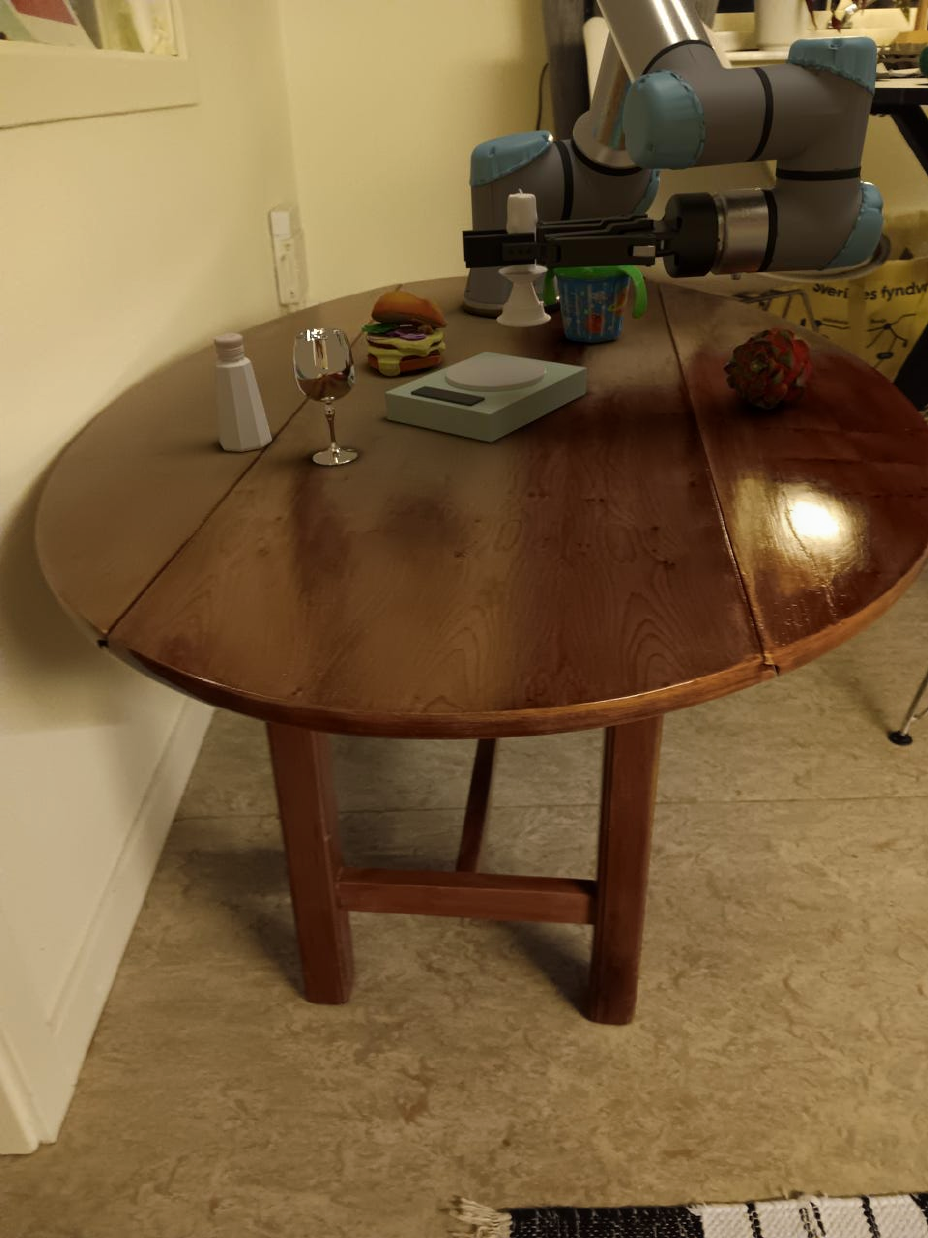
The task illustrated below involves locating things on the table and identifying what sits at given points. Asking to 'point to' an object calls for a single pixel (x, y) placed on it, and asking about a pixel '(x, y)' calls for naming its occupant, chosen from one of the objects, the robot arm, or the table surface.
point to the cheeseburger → (404, 333)
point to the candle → (522, 268)
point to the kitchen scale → (486, 395)
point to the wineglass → (325, 379)
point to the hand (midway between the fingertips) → (464, 249)
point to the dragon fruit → (770, 368)
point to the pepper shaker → (238, 398)
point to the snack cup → (594, 299)
